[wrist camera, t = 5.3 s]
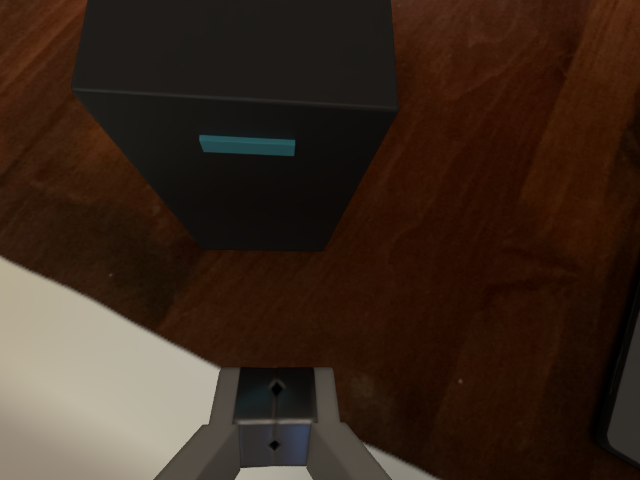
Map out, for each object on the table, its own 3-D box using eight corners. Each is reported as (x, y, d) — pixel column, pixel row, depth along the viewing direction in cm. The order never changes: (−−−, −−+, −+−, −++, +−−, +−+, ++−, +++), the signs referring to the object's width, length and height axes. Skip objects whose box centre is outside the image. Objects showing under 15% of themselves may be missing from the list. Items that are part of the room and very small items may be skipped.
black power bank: (323, 253, 22) (401, 116, 8) (202, 252, 21) (66, 95, 7) (322, 186, 23) (389, -32, 9) (207, 182, 22) (97, -64, 8)
